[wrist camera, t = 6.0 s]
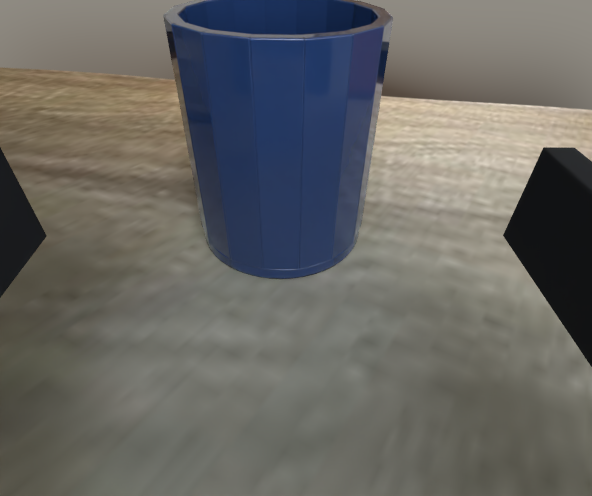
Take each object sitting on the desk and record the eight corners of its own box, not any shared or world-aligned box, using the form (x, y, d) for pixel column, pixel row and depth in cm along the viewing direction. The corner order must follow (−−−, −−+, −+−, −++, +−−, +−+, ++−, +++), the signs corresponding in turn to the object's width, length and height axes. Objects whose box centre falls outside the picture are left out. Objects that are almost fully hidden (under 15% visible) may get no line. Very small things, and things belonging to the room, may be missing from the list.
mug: (369, 279, 18) (416, 39, 11) (191, 279, 18) (135, 36, 11) (342, 158, 27) (360, -16, 20) (223, 158, 27) (201, -18, 20)
